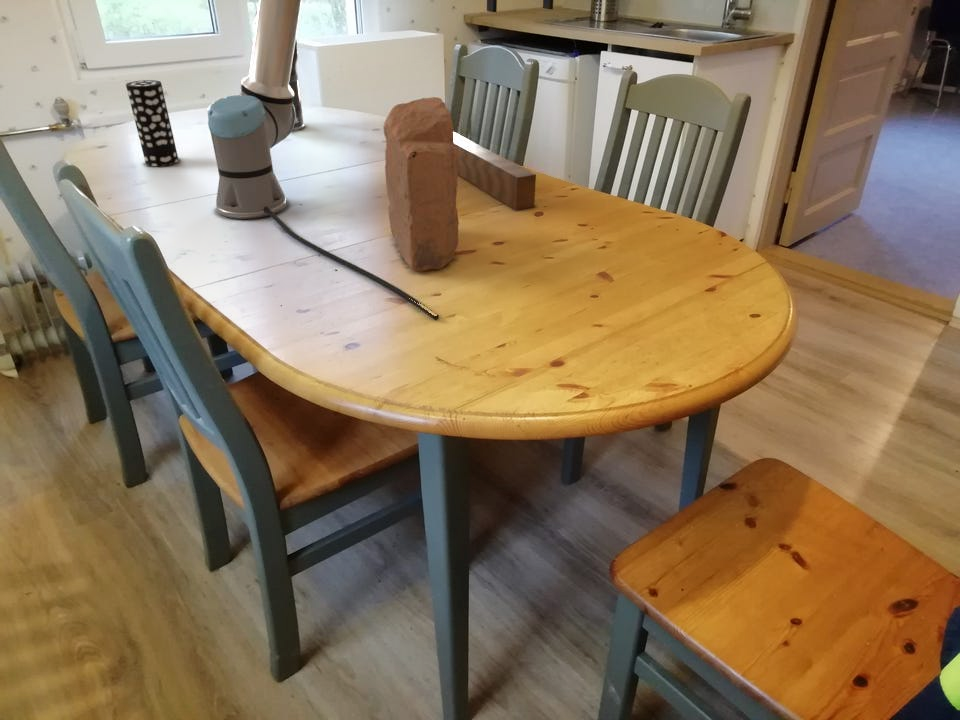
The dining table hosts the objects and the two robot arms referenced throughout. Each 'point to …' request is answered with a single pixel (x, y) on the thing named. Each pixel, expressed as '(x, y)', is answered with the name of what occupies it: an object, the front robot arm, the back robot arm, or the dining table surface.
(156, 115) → the black white spotted cylinder
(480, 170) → the beam
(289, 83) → the back robot arm
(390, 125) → the stone
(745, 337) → the dining table surface
